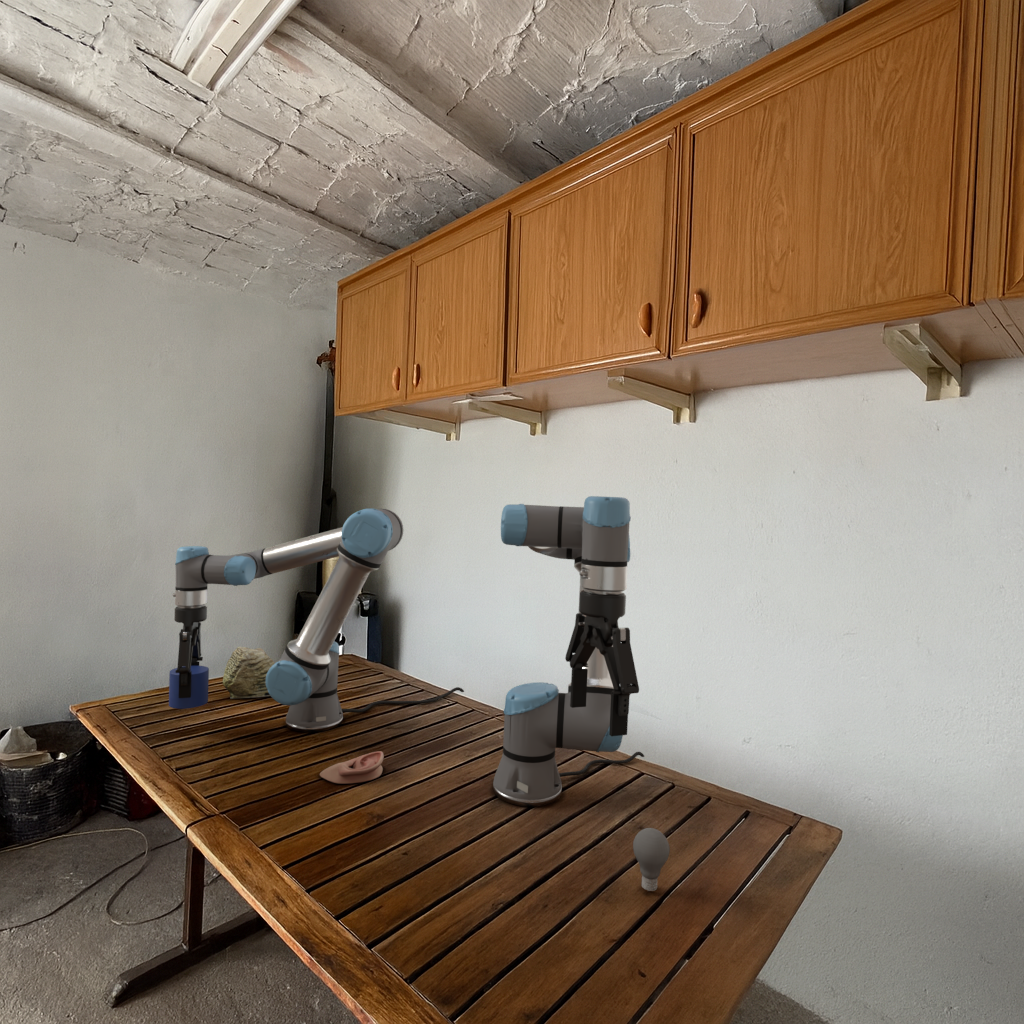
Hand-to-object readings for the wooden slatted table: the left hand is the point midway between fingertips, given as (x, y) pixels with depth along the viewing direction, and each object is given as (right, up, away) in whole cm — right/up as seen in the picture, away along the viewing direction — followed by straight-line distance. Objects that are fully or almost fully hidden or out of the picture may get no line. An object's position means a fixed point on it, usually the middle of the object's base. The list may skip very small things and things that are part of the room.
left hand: (189, 691), depth 165 cm
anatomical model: (+48, -13, -20) cm, 53 cm away
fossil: (+4, -10, +33) cm, 35 cm away
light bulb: (+107, -17, -59) cm, 123 cm away
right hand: (+98, +13, -61) cm, 116 cm away
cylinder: (0, -3, 0) cm, 3 cm away
